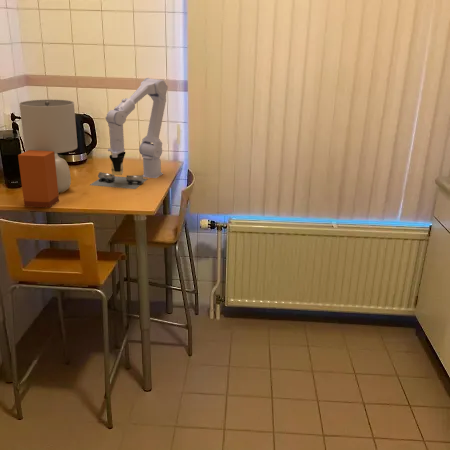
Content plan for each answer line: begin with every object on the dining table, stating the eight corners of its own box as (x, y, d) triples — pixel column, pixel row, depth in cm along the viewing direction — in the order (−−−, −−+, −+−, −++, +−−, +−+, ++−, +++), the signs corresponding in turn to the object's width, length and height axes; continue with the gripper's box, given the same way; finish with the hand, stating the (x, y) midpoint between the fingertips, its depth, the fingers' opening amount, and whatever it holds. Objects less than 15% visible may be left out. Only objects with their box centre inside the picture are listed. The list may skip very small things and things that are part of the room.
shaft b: (126, 186, 216) (126, 176, 215) (127, 183, 220) (127, 174, 218) (142, 186, 217) (142, 176, 215) (143, 183, 220) (143, 174, 219)
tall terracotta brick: (59, 200, 196) (54, 150, 189) (49, 208, 188) (44, 156, 181) (35, 198, 197) (29, 149, 190) (24, 206, 189) (17, 155, 181)
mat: (104, 176, 229) (104, 175, 229) (147, 180, 226) (147, 178, 226) (89, 186, 215) (89, 185, 214) (135, 190, 211) (135, 188, 211)
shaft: (115, 182, 221) (115, 173, 219) (110, 184, 217) (109, 175, 216) (103, 180, 224) (102, 171, 222) (97, 182, 220) (96, 173, 219)
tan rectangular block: (113, 172, 218) (112, 162, 216) (123, 172, 218) (122, 162, 216) (111, 175, 214) (111, 164, 212) (121, 175, 214) (121, 164, 212)
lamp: (28, 199, 196) (16, 105, 183) (32, 185, 214) (21, 98, 201) (81, 196, 201) (73, 104, 188) (81, 182, 219) (73, 97, 206)
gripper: (110, 135, 217) (112, 165, 222) (104, 142, 203) (106, 174, 208) (126, 135, 217) (128, 165, 222) (121, 142, 204) (122, 174, 209)
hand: (118, 170), depth 215 cm, fingers closed on tan rectangular block, 4 cm apart
